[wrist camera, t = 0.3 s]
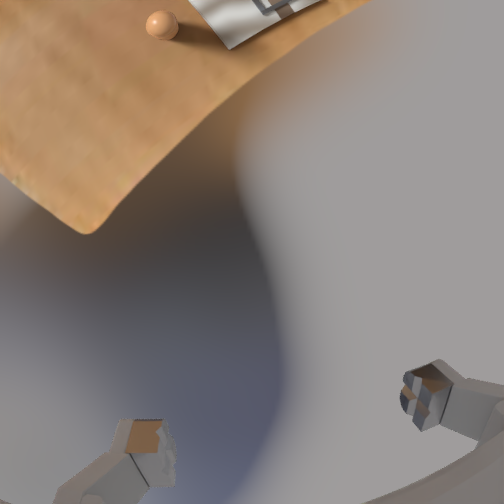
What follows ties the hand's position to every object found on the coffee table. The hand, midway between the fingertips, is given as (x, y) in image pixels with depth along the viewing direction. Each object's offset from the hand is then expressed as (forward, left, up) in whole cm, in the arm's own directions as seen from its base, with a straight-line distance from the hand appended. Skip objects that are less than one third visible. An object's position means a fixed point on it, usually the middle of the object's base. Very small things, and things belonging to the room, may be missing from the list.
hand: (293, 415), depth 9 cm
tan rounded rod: (-15, +4, -52) cm, 55 cm away
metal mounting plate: (-13, +20, -52) cm, 57 cm away
